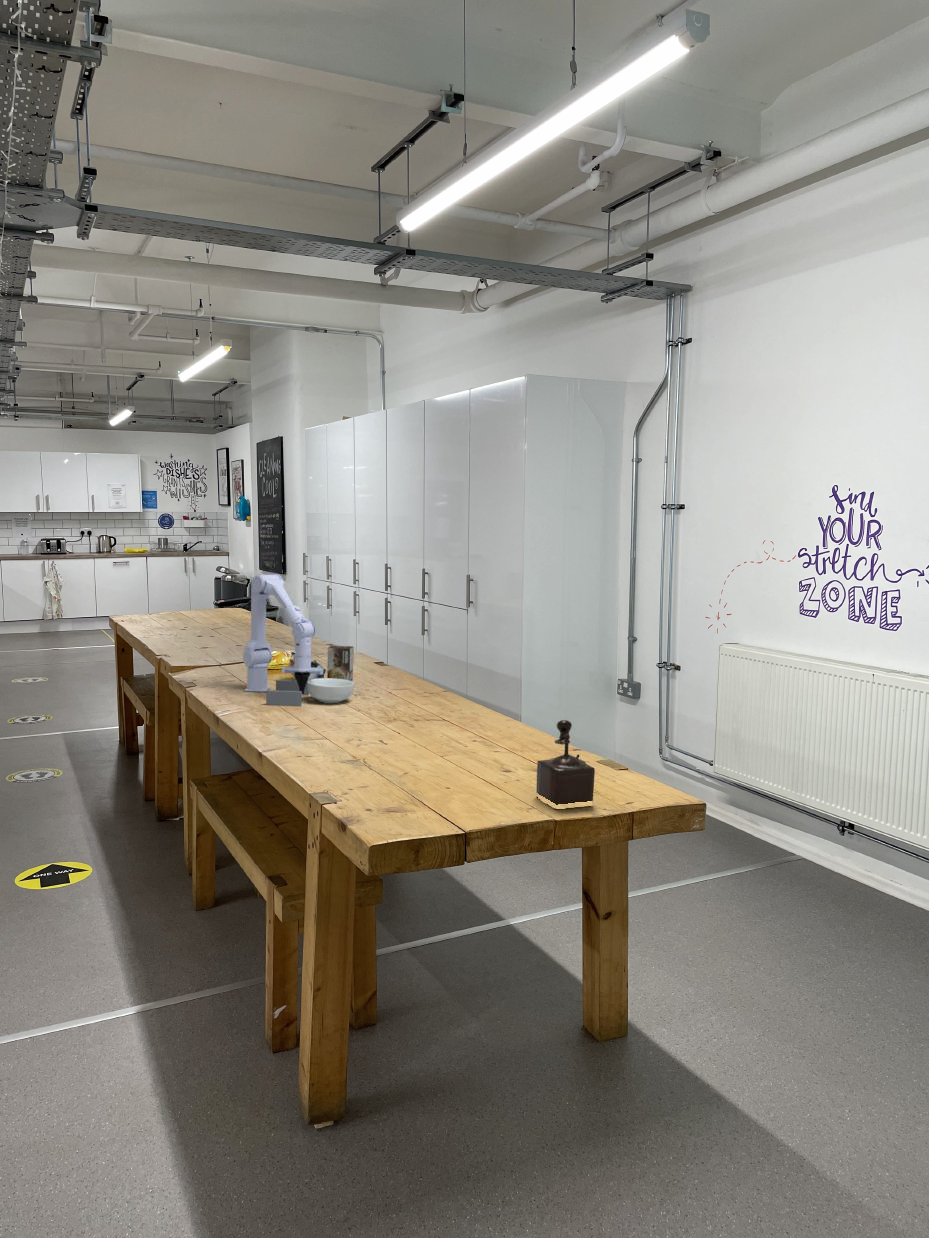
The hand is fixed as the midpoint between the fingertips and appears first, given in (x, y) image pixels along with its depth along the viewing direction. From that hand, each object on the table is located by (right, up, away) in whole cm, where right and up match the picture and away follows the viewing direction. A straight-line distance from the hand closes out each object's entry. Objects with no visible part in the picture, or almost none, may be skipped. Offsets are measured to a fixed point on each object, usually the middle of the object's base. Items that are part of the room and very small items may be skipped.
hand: (302, 693), depth 315 cm
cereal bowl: (+10, -3, +1) cm, 11 cm away
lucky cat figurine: (-5, +1, +36) cm, 36 cm away
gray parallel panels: (-5, -2, 0) cm, 5 cm away
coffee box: (+10, 0, +27) cm, 28 cm away
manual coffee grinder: (+81, -17, -102) cm, 131 cm away
